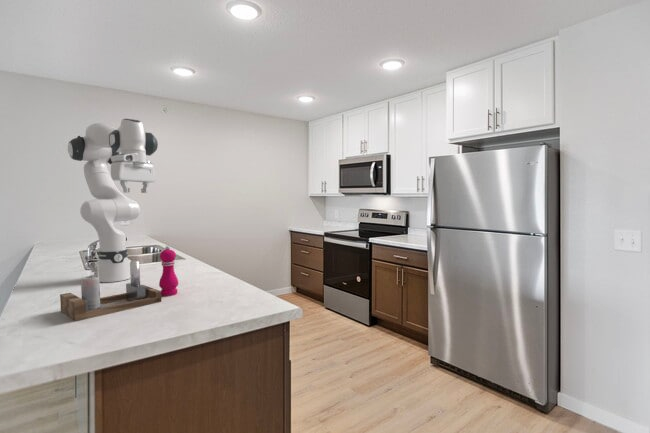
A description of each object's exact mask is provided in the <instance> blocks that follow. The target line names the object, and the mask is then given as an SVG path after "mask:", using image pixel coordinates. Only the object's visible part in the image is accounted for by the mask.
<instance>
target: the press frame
mask: <svg viewBox="0 0 650 433" xmlns="http://www.w3.org/2000/svg"><path fill="white" fill-rule="evenodd" d="M142 285H143V286H145V292H146V298H145V299H140V300H136V301H127V302H123V303H118V304H113V305H109V306H104V307H100V308H99V309H94V310H89V311H86V307H85V301H84V300H83V299H82V297H80V296H77V295H76V294H73V293H71V292H67V293H61V294H59V297H60V298H59V300H60V311H61V313H63V314H64V315H66V316H67V317H69V318H70V319H72V321H74V322H79V321H82V320H88V319H92V318H95V317H100V316H104V315H108V314H114V313H118V312H122V311H126V310H132V309H134V308H135V309H136V308H140V307H144V306H147V305H152V304H156V303H160V302H161V303H162V295H161V290H158V289H155V288H153V287H151V286H147V285H145V284H142ZM123 300H128V299H127V296H126V292H123V293H119V294H114V295H113V294H112V295H108V296H104V297H100V306H101V305H105V304H110V303H113V302H114V303H115V302H121V301H123Z"/></svg>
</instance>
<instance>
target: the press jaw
mask: <svg viewBox="0 0 650 433" xmlns="http://www.w3.org/2000/svg"><path fill="white" fill-rule="evenodd" d="M140 269H141V267H140V260H133V261H132V260H131V262H130V278H129V279H130V282H128V283H126V284H125V291H126V292H125V293H126V296H127V299H126V300H128V301H129V302H131V301H136V300H140V299H145V298H146V292H145V286H146V285H145V286H143V285H144V284H141V271H140Z"/></svg>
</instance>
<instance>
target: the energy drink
mask: <svg viewBox="0 0 650 433" xmlns="http://www.w3.org/2000/svg"><path fill="white" fill-rule="evenodd" d="M80 291H81V292H80V293H81V299H83V300H84V301H85V307H86V311H89V310H94V309H99V308H101V305H100V298H101V292H100V282H99V277H98V276H90V275H87V276H84V277H83V276H82V277H81V279H80Z"/></svg>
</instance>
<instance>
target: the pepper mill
mask: <svg viewBox="0 0 650 433" xmlns="http://www.w3.org/2000/svg"><path fill="white" fill-rule="evenodd" d="M164 248H165V249H164V250H162V251H161V252H160V254H159V258H160V259H159V260H161V266H162V273H161V276H160V279H159V282H158V283H159V284H158V286H159V288H160V289H161V290H160V291H161V297H171V296H175V295H177V294H178V288H177V287H178V286H179V280H178V277H177V275H176V273H175V269H174V268H175V265H176V264H175V259H176V257H177V254H176V252H175V250H173V249H171V247H170V246H169V245H166V246H165V247H164Z"/></svg>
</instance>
